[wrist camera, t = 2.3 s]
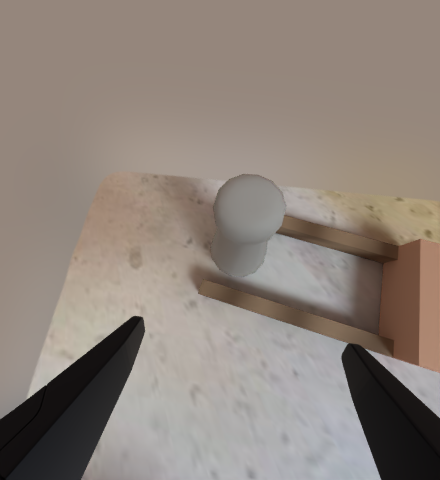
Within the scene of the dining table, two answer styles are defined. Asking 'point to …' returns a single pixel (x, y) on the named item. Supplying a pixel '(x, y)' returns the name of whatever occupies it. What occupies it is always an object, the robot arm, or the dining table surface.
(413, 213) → the dining table surface
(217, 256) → the salt shaker
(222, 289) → the guide rails
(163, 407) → the dining table surface
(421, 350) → the end stop
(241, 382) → the dining table surface
